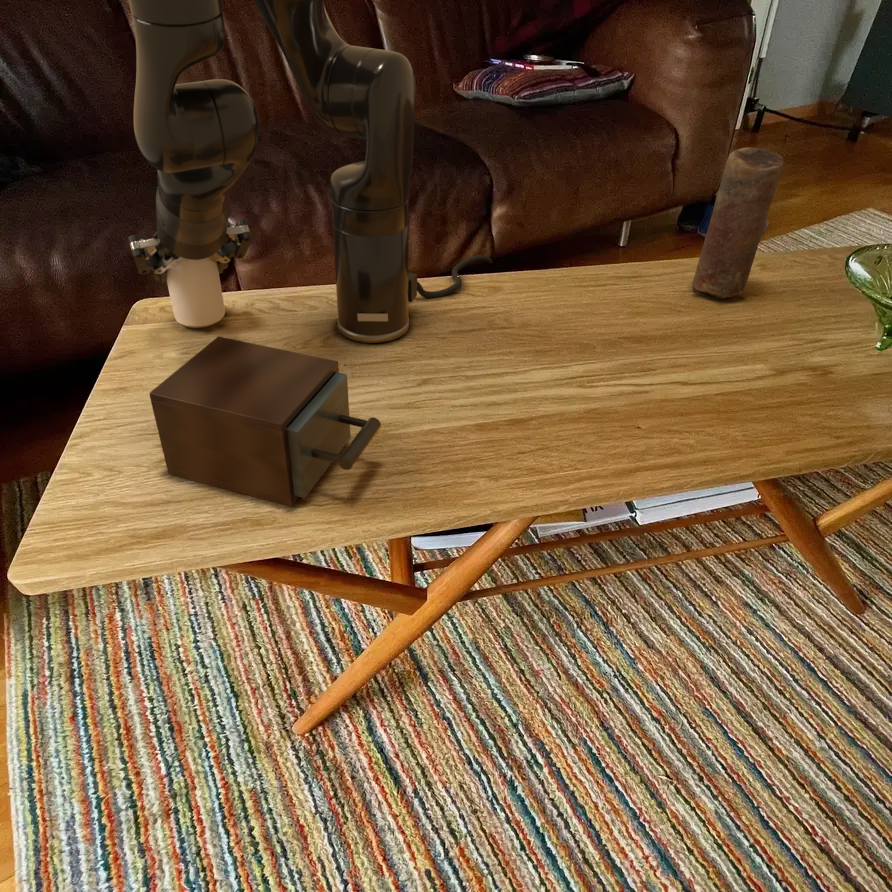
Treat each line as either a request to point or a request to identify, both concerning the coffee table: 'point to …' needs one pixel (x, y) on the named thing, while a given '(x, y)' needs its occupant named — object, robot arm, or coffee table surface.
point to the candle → (737, 221)
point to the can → (196, 293)
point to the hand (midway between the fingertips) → (189, 271)
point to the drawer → (325, 435)
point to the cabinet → (237, 415)
